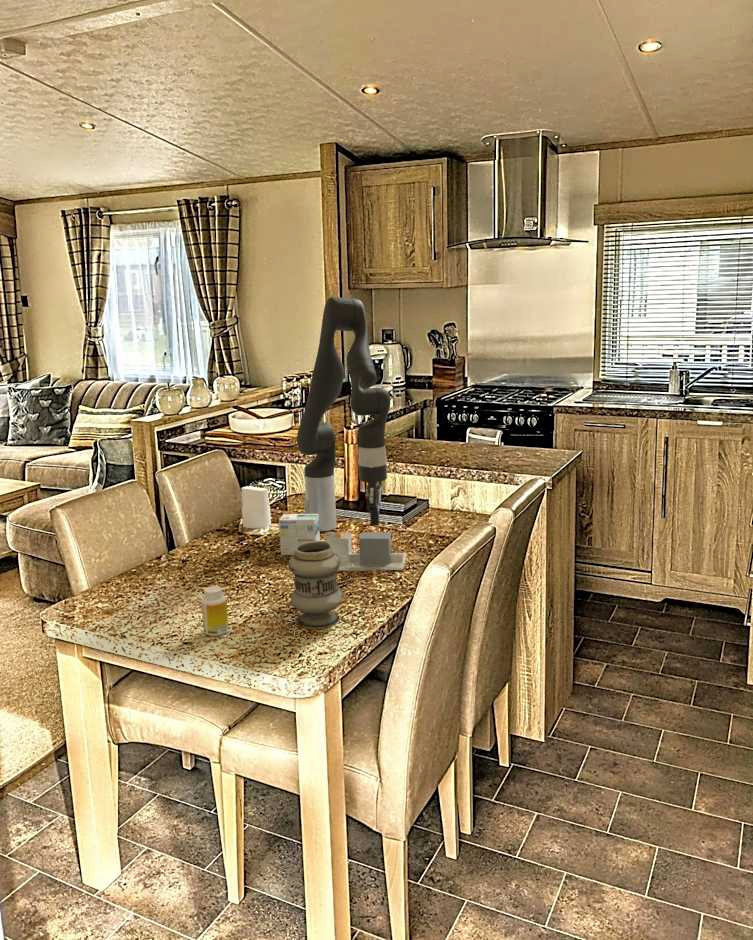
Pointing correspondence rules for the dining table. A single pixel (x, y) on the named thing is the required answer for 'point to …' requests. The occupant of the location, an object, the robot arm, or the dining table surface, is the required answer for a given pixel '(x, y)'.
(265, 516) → the upright white block
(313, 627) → the apothecary jar
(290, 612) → the dining table surface
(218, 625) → the supplement bottle
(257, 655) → the dining table surface
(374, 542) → the module
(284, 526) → the light bulb box
